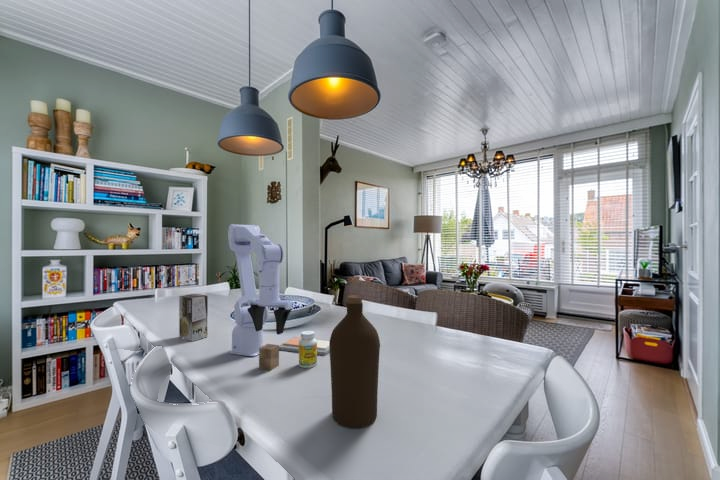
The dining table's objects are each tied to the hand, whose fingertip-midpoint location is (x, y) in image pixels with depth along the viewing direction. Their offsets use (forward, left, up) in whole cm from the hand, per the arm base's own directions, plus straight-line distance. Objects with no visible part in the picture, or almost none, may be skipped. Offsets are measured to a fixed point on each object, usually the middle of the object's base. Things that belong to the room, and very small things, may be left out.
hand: (269, 332), depth 90 cm
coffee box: (-44, +15, -10) cm, 48 cm away
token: (0, 0, -10) cm, 10 cm away
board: (+3, +19, -10) cm, 22 cm away
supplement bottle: (+10, +5, -10) cm, 15 cm away
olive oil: (+32, -16, -10) cm, 37 cm away
